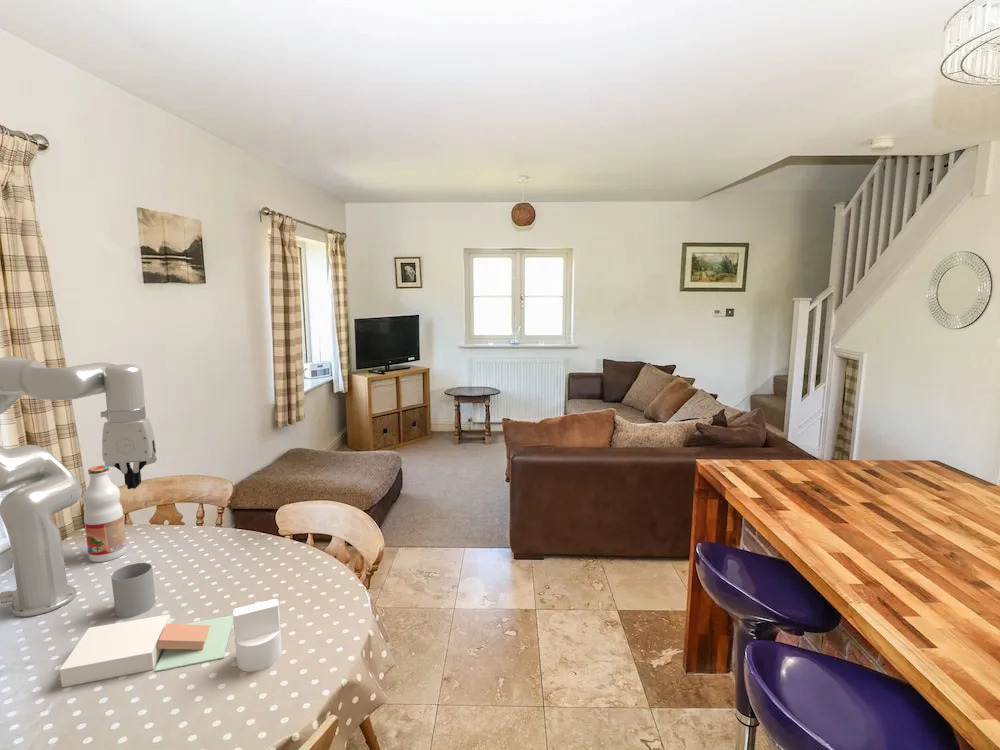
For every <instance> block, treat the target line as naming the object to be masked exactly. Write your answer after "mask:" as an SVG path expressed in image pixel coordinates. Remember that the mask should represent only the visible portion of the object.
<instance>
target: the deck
mask: <svg viewBox="0 0 1000 750" xmlns="http://www.w3.org/2000/svg"><path fill="white" fill-rule="evenodd" d="M171 620H172V619H171V614H169V613H168V614H162V615H157V616H156V615H155V616H152V617H145V618H140V619H134V620H129V621H128V620H127V621H122V622H116V623H115V622H114V623H110V624H104V625H98V626H93V627H88V628H87V630H86V632H85V633H84V634H83V636H82V637H81V639H80V640H79V642H78V643H77V644H76V645H75V647H74V648H73V650H72V651H71V653H70V654H69V656H68V657H67V658H66V660H65V661H64V663H63V664H62V665H61V667H60V669H59V676H60V683H61V688H66V687H71V686H76V685H77V686H78V685H81V684H87V683H91V682H95V681H96V682H97V681H100V680H101V681H103V680H106V679H111V678H117V677H122V676H126V675H133V674H137V673H142V672H143V673H144V672H147V671H153V670H155V668H156V666H157V664H158V662H159V659H160V657H161V655H162V653H163V651H164V649H157V645H158V641H159V638H160V636H161V634H162V632H163V630H164V628H165V626H166V624H172V621H171Z"/></svg>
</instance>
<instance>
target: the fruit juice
mask: <svg viewBox="0 0 1000 750" xmlns="http://www.w3.org/2000/svg"><path fill="white" fill-rule="evenodd" d="M87 471H88V472H87V474H88V475H89V476H90V477H89V479H90V480H89V483H88V487H87V488H86V489H85V491H84V492H83V493H82V496H81V498H82V504H83V505H84V507H85V510H84V513H83V522H84V529H85V535H86V536H85V537H86V545H87V554H88V559H89V560H90V561H91V562H93V563H103V562H109V561H112V560H115V559H118V558H120V557H121V556H123V555H125V554H126V553H127V550H128V544H127V543H128V542H127V536H126V535H127V534H126V525H125V516H124V515H125V514H124V509H123V506H122V504H121V501H120V499H121V490H120V488H119V487H118V485H116V484H115V483H113V482H112V480H111V478H110V476H109V472H110V467H109V466H105V464H104V465H95V466H92V467H90V468H88V470H87Z"/></svg>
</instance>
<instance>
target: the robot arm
mask: <svg viewBox="0 0 1000 750" xmlns="http://www.w3.org/2000/svg"><path fill="white" fill-rule="evenodd" d="M142 371H143V370H142V368H141V367H140V366H139V365H137V364H127V363H126V364H125V363H124V364H114V363H109V362H93V363H87V364H86V363H85V364H79V365H74V366H68V367H48V366H47V365H46V364H45V363H43V362H41V361H38V360H35V359H33V360H29V359H27V358H24V357H22V356H3V357H0V415H2V414H4V413H5V412H6V411H8V410H9V409H10V408H11V407H12V406H13V405H14V404H16V402H17V401H18V400H19V399H20V398H21V397H22V396H28V397H30V398H33V399H36V400H42V401H43V400H44V401H45V400H47V401H69V400H78V399H81V398H86V397H90V396H94V395H95V396H96V395H100V394H104V393H105V401H106V410H105V411H101V412H100V417H101V418H106V421H105V422H104V423H103V426H102V435H101V437H102V439H101V441H102V442H101V453H102V454H101V456H102V461H103V462H104V465H105V466H108V467H109V468H116V469H117V470H119V471H121V474H123V477H124V485H125V486H126V488H127V490H131V489H133V490H136V489H137V488H138V487H139V486H140V484H141V483H142V473H141V470H142V469H143V468H144V467H145V466H148V465H151V464H155V463H156V462H157V461H158V458H157V456H156V453H157V450H156V449H157V447H156V440H155V434H154V430H153V427H152V424H151V423H152V422H151V421H150V418H148V417H147V414H146V413H147V412H146V405H145V400H146V399H145V392H144V391H145V390H144V380H143V379H144V378H143V372H142ZM131 463H132V464H133V465H132V464H131ZM27 483H29V484H27ZM25 484H26V485H25ZM21 485H24V486H21ZM19 486H21V487H19ZM15 487H19V488H16V489H14V488H15ZM10 489H11V490H12V489H14V490H13V491H10V492H9V493H8V494H7V495H5V497H4V498H2V500H1V502H0V519H1V521H2V522H3V525H4V527H5V529H6V532H7V535H8V540H9V544H10V552H11V556H12V557H11V558H12V559H11V560H12V564H13V572H14V579H15V584H16V585H15V586H16V589H15V590H8V591H7V590H5V591H1V592H0V604H1V605H2V604H7V603H13V604H12V605H11V607H10V611H11V613H12V615H13V616H17V617H32V616H37V615H38V616H39V615H42V614H46V613H48V612H52V611H54V610H56V609H58V608H60V607H62V606H65V605H66V604H68V603H70V602H71V600H73V599H75V596H76V595H77V590H76V589H77V588H76V587H75V586H73V585H70V584H68V580H67V573H66V564H65V556H64V549H63V541H62V536H61V535H62V534H61V531H60V529H59V527H58V526H57V525H56V524H55V523H54V522H53V521H52V519H51V517H52V516H54V515H55V514H57V513H60V512H62V511H63V510H65V509H68V508H69V507H71V506H74V505H75V504H76V503H78V502H79V501H80V499H81V498H82V497H83V487H82V484H81V482H80V481H79V479H78V478H77V477H76V476H75V475H74V474H73V473H72V472H71V471H70V470H69V469H68V468H67V467H66V466H65V465H64V464H63V463H62V462H61V461H60V460H59V459H58V458H56V456H54V455H53V453H51V452H50V451H49V450H48V449H46V448H44V447H43V446H39V445H36V444H23V445H20V446H16V447H13V448H10V449H9V448H5V447H3V446H2V445H0V493H1V492H5V491H8V490H10Z"/></svg>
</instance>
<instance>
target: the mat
mask: <svg viewBox="0 0 1000 750" xmlns="http://www.w3.org/2000/svg"><path fill="white" fill-rule="evenodd" d="M185 624H187V625H210V628H209V632H208V636H207V639H206V642H205V645H204V647H203V650H191V649H163V650H162V652H161V655H160V657H159V659H158V661H157V663H156V666H155V668H154V673H156V672H163V671H168V670H172V669H177V668H182V667H186V666H187V667H188V666H192V665H197V664H202V663H207V662H212V661H217V660H222V659H224V658H225V655H226V654H225V653H226V651H227V647H228V642H229V639H230V635H231V631H232V629H233V626H234V620H233V614H231V615H227V616H222V617H221V616H220V617H216V618H210V619H204V620H198V621H194V622H193V621H192V622H188V623H185Z"/></svg>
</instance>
